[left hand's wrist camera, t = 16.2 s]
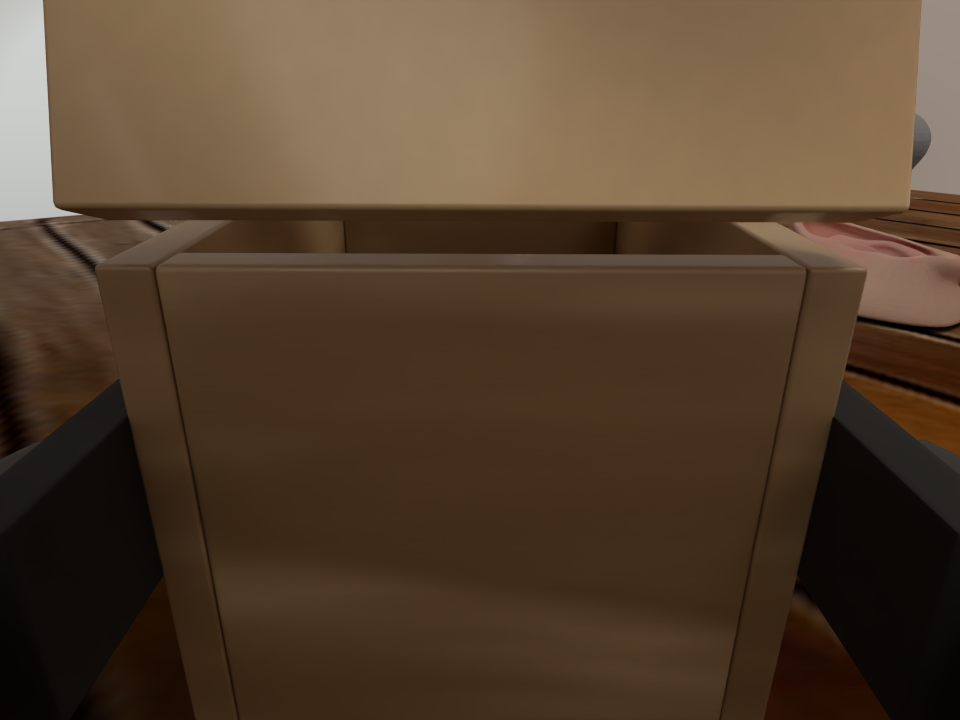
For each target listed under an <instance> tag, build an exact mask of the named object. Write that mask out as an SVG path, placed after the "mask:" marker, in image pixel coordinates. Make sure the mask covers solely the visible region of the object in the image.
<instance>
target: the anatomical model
mask: <svg viewBox="0 0 960 720" xmlns="http://www.w3.org/2000/svg"><path fill="white" fill-rule="evenodd" d="M792 228H793V231H794V232H796V233H798V234H800V235H802V236H803V237H805V238H807V239H809V240H811V241H813V242H815V243H817V244H819V245H821V246H823V247H825V248H827V249H829V250H831V251H833V252H835V253H837V254H839V255H841V256H843V257H845V258H847V259H849V260H851V261H853V262H855V263H857V264H859V265H861V266H863V267H865V268H866V269H867V277H866V281H865V285H864V290H863V294H862V298H861V302H860V307H859V311H858V315H857V316H858V317H863V318H868V319H874V320H880V321H885V322H891V323H898V324H905V325H912V326H921V327H948V326H952V325H955V324H958V323H960V287H959V286H958V283H959V281H960V256H959V255H955V254H952V253H949V252H945V251H941V250H938V249H935V248H931V247H928V246H925V245H922V244H919V243H916V242H913V241H910V240H906V239H903V238H900V237H897V236H894V235H890V234H887V233H883V232H879V231H876V230H872V229H869V228H865V227H862V226H858V225H855V224H852V223H793V224H792Z"/></svg>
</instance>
